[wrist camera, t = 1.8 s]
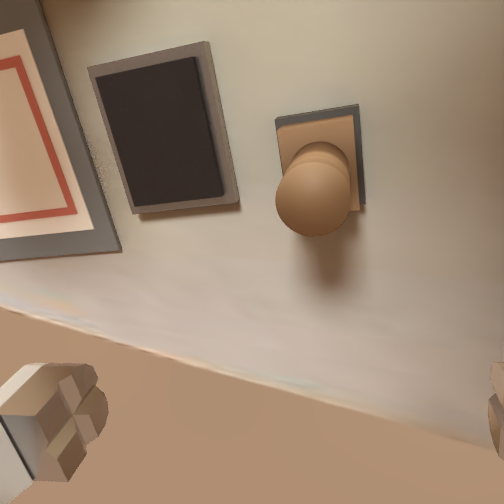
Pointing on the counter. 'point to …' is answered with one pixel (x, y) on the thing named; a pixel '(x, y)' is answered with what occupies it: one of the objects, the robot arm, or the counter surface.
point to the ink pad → (167, 128)
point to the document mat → (43, 149)
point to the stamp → (320, 169)
